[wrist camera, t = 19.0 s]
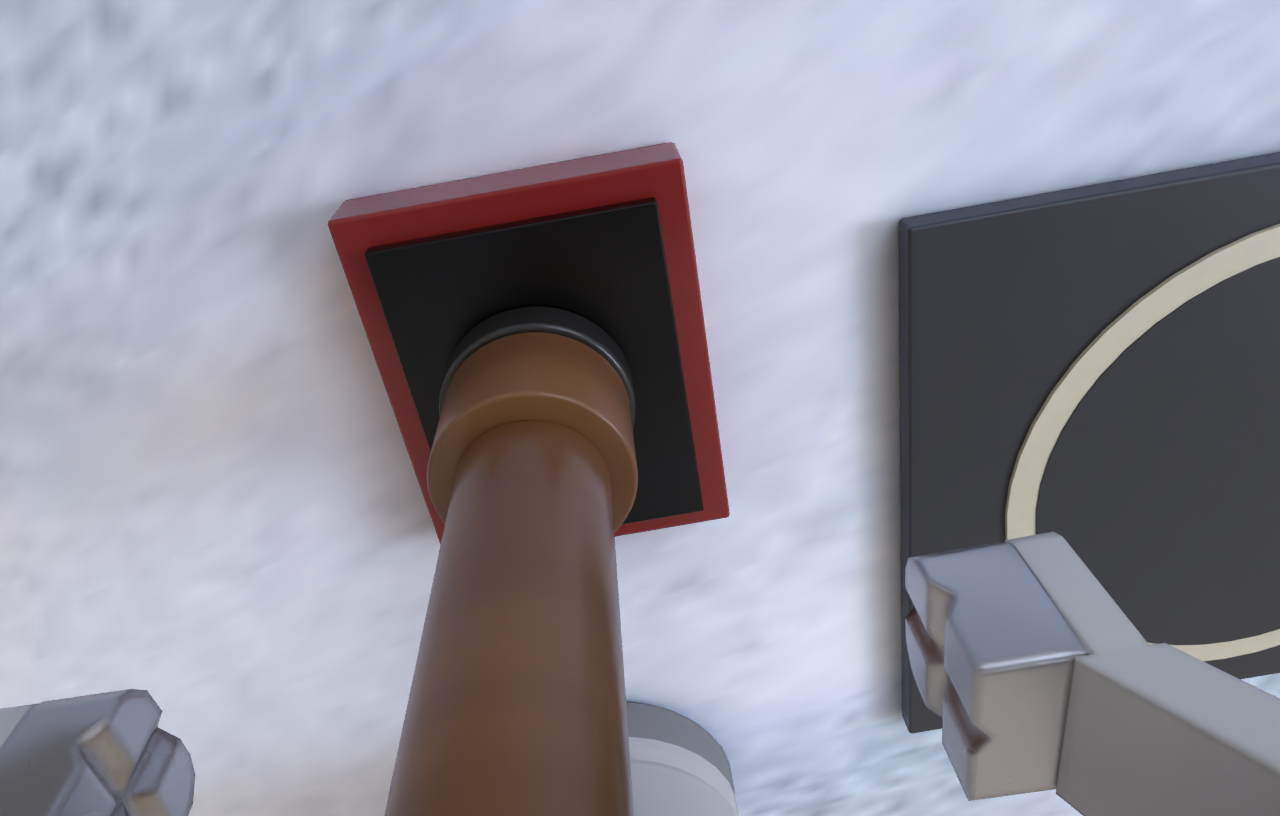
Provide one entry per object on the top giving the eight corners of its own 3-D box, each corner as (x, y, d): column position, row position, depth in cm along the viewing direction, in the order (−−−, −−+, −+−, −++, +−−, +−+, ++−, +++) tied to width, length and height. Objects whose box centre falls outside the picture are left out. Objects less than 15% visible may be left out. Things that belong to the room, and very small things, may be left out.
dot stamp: (421, 322, 14) (-49, 1597, 3) (616, 288, 14) (757, 1481, 3) (471, 482, 16) (258, 1689, 5) (646, 453, 15) (807, 1611, 5)
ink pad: (343, 199, 14) (320, 227, 13) (674, 140, 14) (685, 163, 13) (454, 528, 18) (445, 576, 17) (721, 482, 18) (733, 528, 16)
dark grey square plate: (897, 217, 15) (911, 230, 15) (1757, 66, 15) (1809, 73, 14) (901, 715, 22) (911, 739, 21) (1500, 616, 21) (1528, 637, 21)
